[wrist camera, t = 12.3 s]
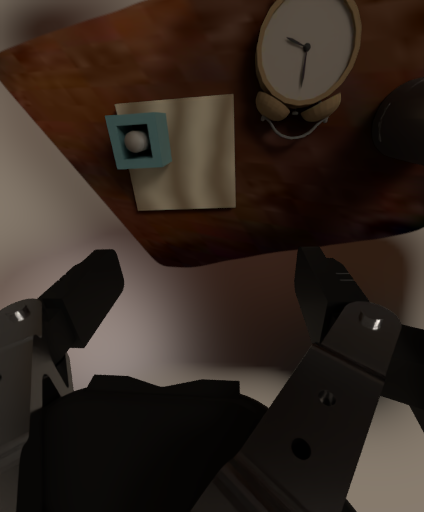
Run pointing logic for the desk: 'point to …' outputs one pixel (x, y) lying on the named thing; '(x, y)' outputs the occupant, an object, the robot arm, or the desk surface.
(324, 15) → the alarm clock
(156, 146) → the teal square frame
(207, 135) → the post board
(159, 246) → the desk surface
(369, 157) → the desk surface
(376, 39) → the desk surface
